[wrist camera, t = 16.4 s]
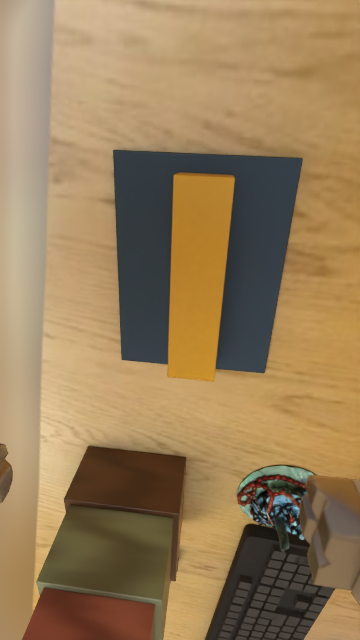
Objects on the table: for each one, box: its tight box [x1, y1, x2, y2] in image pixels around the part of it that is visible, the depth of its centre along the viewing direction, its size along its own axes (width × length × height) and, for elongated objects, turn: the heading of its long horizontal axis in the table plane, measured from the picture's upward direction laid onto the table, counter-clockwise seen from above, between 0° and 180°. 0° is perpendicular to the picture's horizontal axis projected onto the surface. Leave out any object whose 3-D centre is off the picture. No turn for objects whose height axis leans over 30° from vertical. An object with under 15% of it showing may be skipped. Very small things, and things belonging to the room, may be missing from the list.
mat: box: [113, 150, 303, 373], centre depth 25 cm, size 12×16×1 cm
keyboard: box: [205, 524, 335, 640], centre depth 44 cm, size 35×11×2 cm, turn 172°
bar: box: [167, 172, 235, 381], centre depth 24 cm, size 4×14×3 cm, turn 178°
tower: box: [22, 446, 186, 640], centre depth 29 cm, size 10×10×17 cm
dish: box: [237, 466, 314, 552], centre depth 34 cm, size 8×7×8 cm
